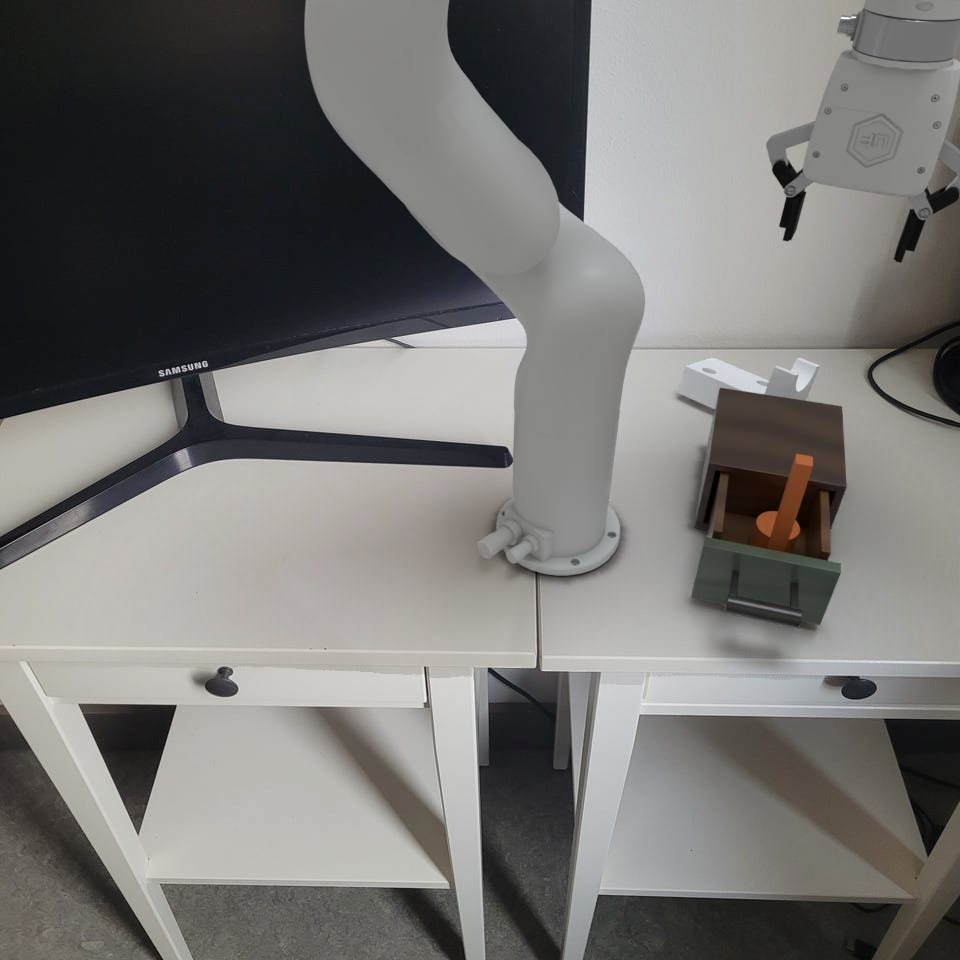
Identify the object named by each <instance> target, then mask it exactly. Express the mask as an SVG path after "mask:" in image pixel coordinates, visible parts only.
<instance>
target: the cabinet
mask: <svg viewBox="0 0 960 960" xmlns="http://www.w3.org/2000/svg"><path fill="white" fill-rule="evenodd" d="M713 411H714V412H713V415H712V421H711V426H710V430H709V434H708V439H707V443H706V448H705V455H704V460H703V466H702V467H703V468H702V475H701V481H700V488H699V493H698V494H699V495H698V501H697V506H696V514H695V519H694V528H696V529H701V530H707V531H708V527H709V519H710V512H711V507H712V502H713V498H714V494H715V490H716V485H717V481H718V477H719V473H720V471H723V472H729V473H735V474H740V475H746V476H752V477H758V478H763V479H769V480H775V481H780V482H786V483H787V481H788V478H789V474H790V471H791V468H792V465H793V462H794V458H795V455H796V454H801V455H807V456H812V457H813V468H812V471H811V474H810V477H809V480H808V483H807V486H809V487H814V488H820V489H826V490H829V512H830V532H831V530H832V528H833V525H834V522H835V520H836V517H837V515H838V512H839V508H840V506H841V503H842V501H843V498H844V495H845V493H846V490H847V487H848V484H847V483H848V482H847V468H846V467H847V466H846V465H847V463H846V449H845V431H844V430H845V429H844V415H843V406H842V405H837V404H831V403H825V402H824V403H823V402H817V401H811V400H806V401H805V400H798V399H791V398H785V397H778V396H772V395H765V394H759V393H752V392H746V391H739V390H733V389H726V388H719V392H718V397H717V402H716V406H715V409H714V410H713Z"/></svg>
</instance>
